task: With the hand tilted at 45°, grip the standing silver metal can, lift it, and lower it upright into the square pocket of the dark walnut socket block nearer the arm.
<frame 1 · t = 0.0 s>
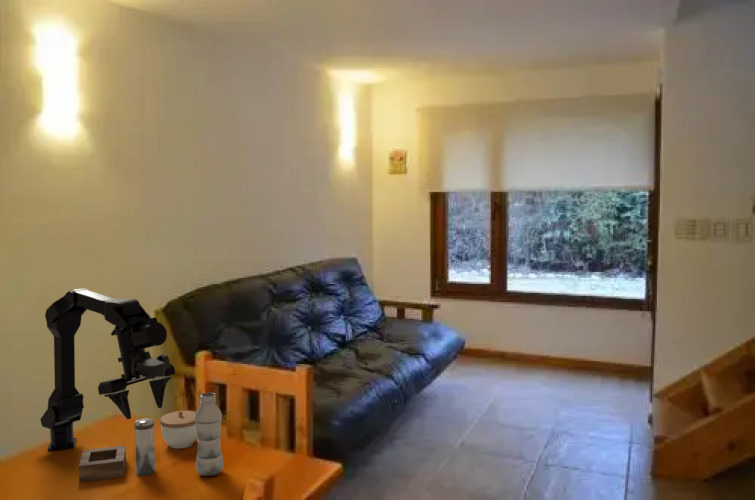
hand: (145, 413, 157), 15 cm above the table, tool pointing down, fingers open, 9 cm apart
lidded jar: (181, 445, 177), on the table
silver metal can: (145, 472, 160), on the table
plastic bottle: (209, 474, 159), on the table
socket block: (103, 470, 160), on the table
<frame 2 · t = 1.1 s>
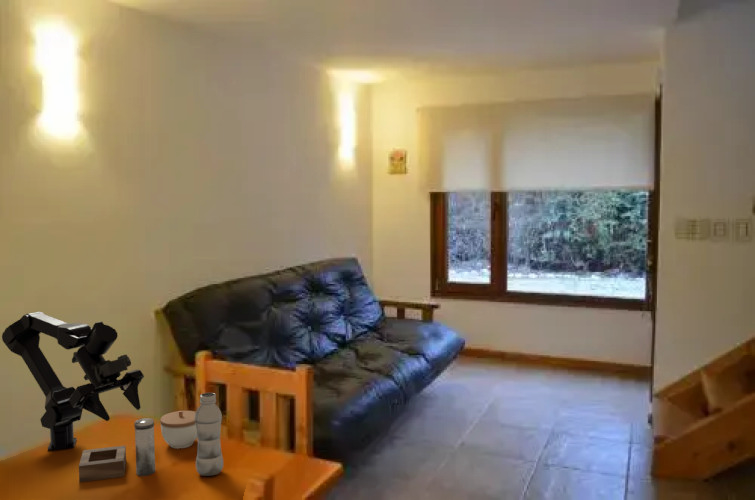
hand: (124, 414, 162), 13 cm above the table, tool tilted 45°, fingers open, 9 cm apart
nothing on the table moved.
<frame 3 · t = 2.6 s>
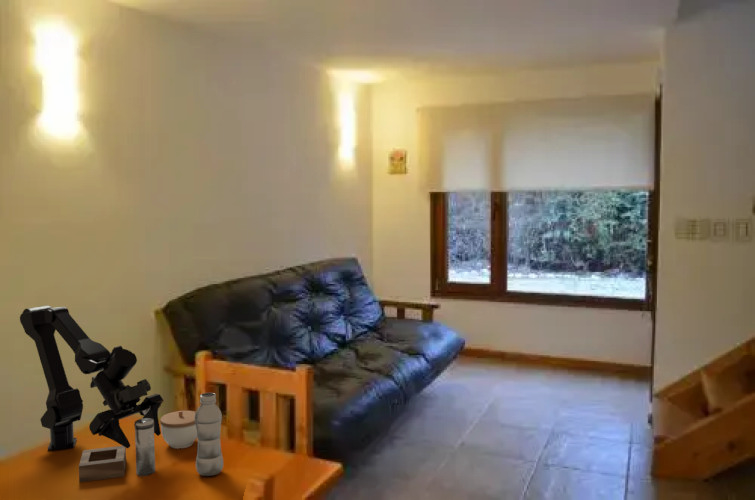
hand: (144, 440, 159), 8 cm above the table, tool tilted 45°, fingers open, 9 cm apart
nothing on the table moved.
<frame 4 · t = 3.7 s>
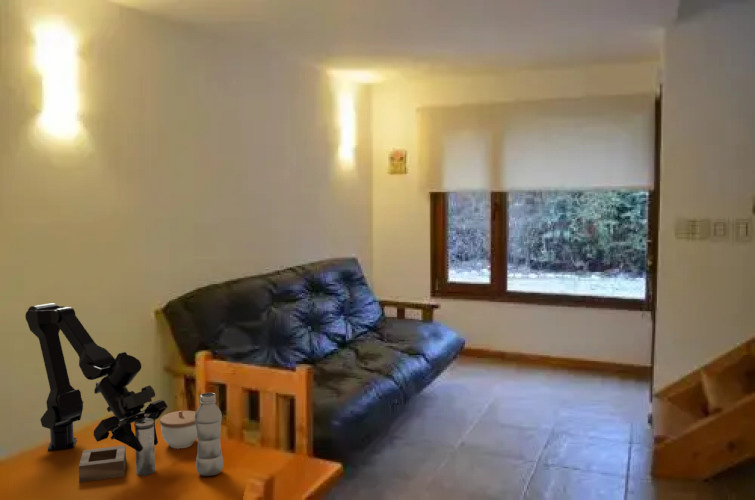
hand: (148, 447, 158), 7 cm above the table, tool tilted 45°, fingers closed on silver metal can, 4 cm apart
silver metal can: (145, 471, 160), on the table, touching gripper
everything else where it was.
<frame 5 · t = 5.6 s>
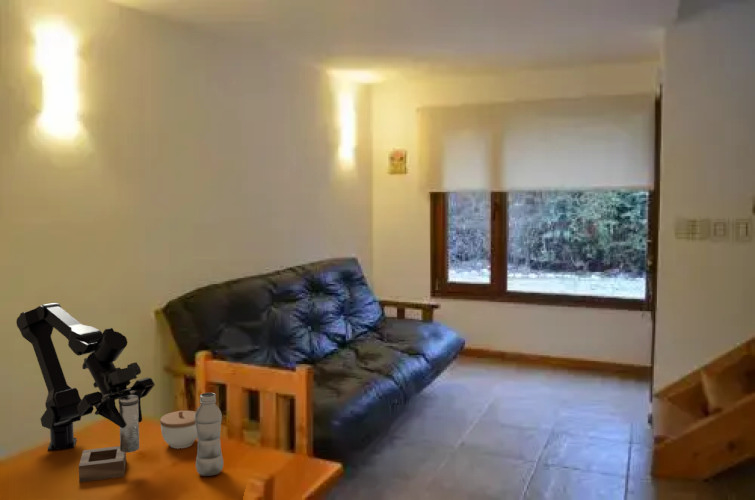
hand: (132, 424, 158), 13 cm above the table, tool tilted 45°, fingers closed on silver metal can, 4 cm apart
silver metal can: (129, 448, 159), point 6 cm above the table, touching gripper
everything else where it was.
when the fingers open (9 cm above the table, at t = 7.4 s): silver metal can drops 1 cm, resting on socket block.
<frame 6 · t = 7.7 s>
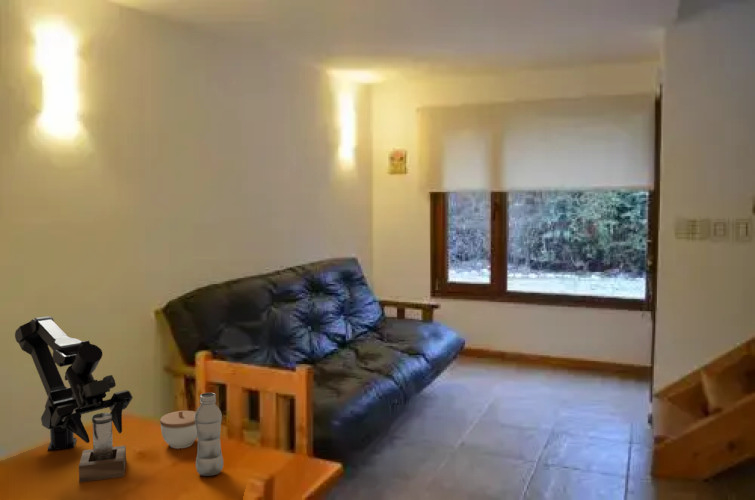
hand: (104, 437, 158), 9 cm above the table, tool tilted 45°, fingers open, 8 cm apart
silver metal can: (103, 466, 160), point 1 cm above the table, touching socket block
everything else where it was.
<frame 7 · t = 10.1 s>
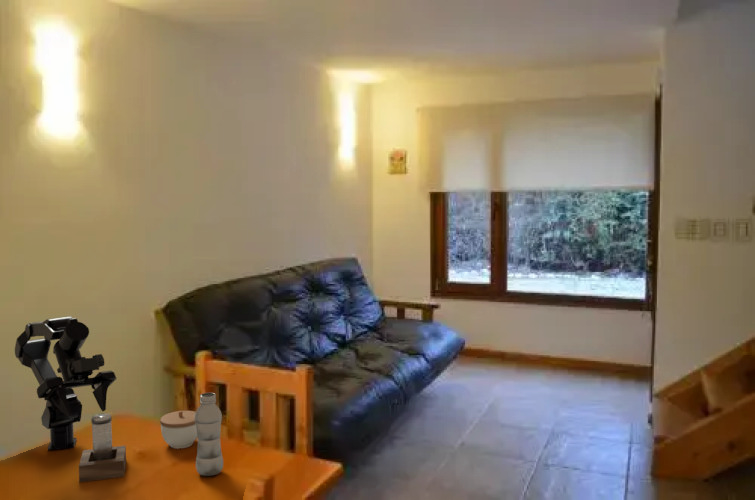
hand: (87, 413, 163), 13 cm above the table, tool tilted 40°, fingers open, 9 cm apart
nothing on the table moved.
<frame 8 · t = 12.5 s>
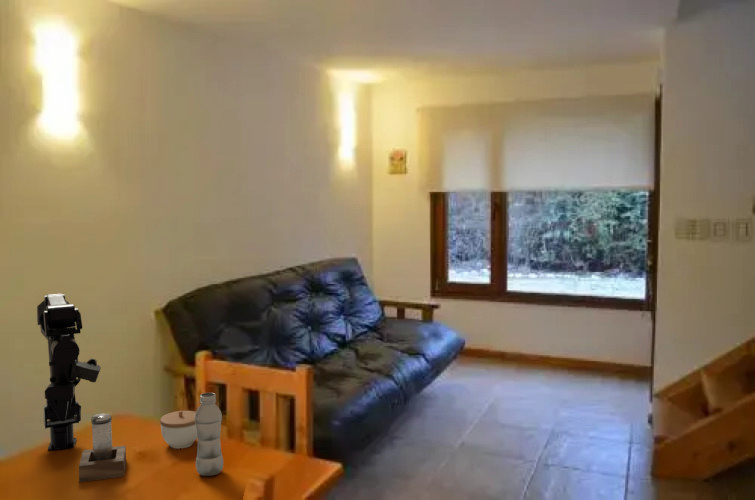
hand: (65, 415, 163), 13 cm above the table, tool pointing down, fingers open, 9 cm apart
nothing on the table moved.
at the end: silver metal can 0.0 cm off-centre on the socket block, point 1.0 cm above the socket block's base; silver metal can tilted 0°; the gripper is holding nothing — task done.
